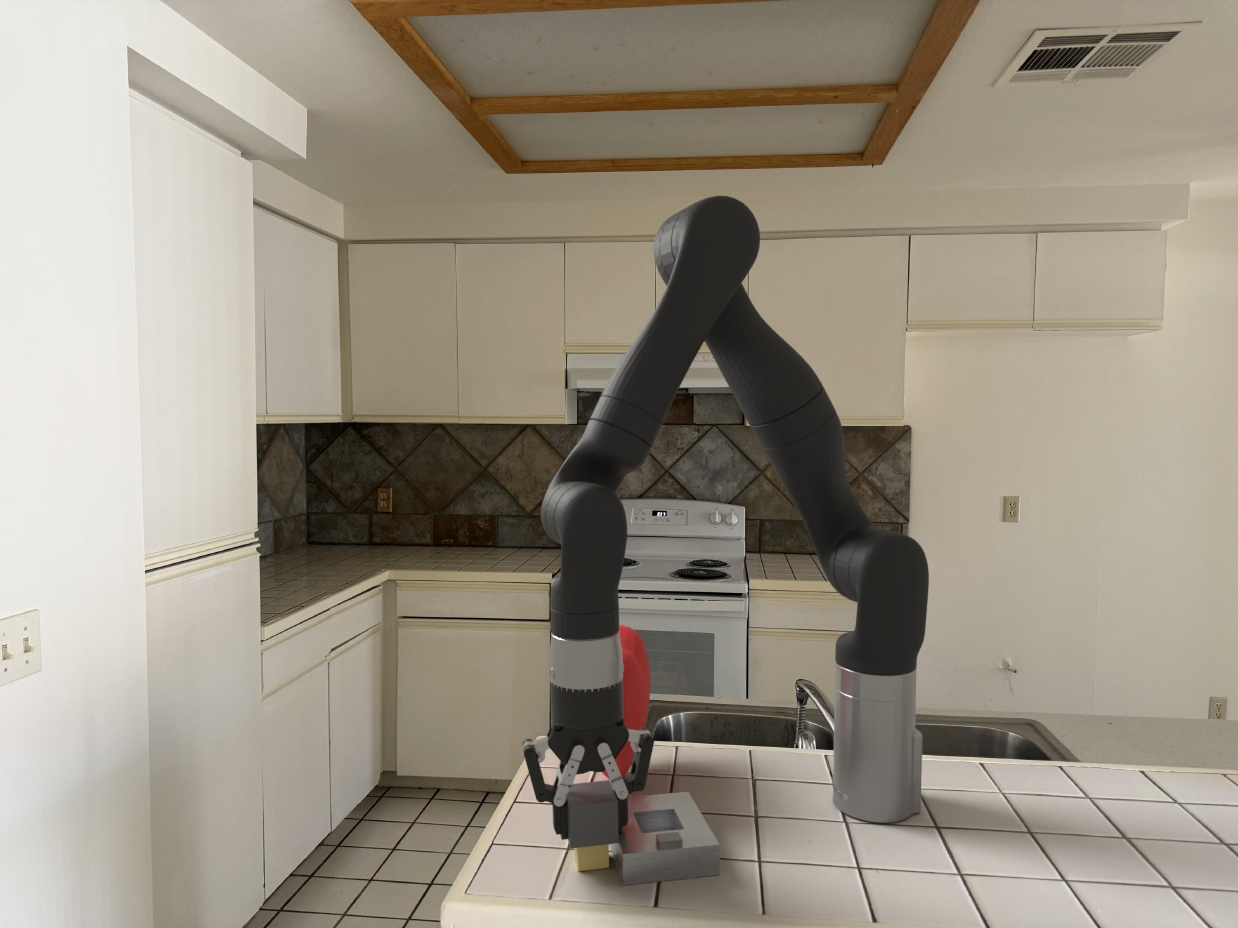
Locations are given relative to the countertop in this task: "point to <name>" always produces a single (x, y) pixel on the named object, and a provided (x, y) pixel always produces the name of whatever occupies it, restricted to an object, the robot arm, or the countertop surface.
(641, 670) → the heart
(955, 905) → the countertop surface
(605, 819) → the plug
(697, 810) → the socket plate
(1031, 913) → the countertop surface
